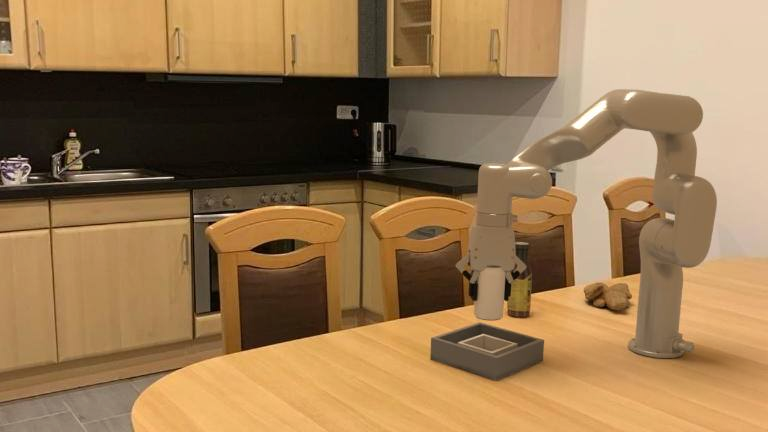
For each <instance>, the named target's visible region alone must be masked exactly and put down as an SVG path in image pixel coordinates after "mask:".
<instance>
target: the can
mask: <svg viewBox="0 0 768 432" xmlns="http://www.w3.org/2000/svg"><path fill="white" fill-rule="evenodd" d="M476 283H477V285H478V286H477V301H474V306H473V307H474V308H473V315H474V316H475V318H476V319H478V320H482V321H491V322H493V321H500V320H502V319H503V317H504V309H505V308H504V305H505V300H504V292H505V272H504V271H502V269H501V267H486V269H485V270H484V271H481V272H480V273H479V275H478V277H477V279H476Z"/></svg>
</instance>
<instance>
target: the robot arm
mask: <svg viewBox="0 0 768 432" xmlns="http://www.w3.org/2000/svg"><path fill="white" fill-rule="evenodd" d="M703 111H704V110H703V108H702V106H701V104H700V102H699V101H698V100H697V99H695V98H693V97H691V96H689V95H681V94H673V93H663V92H658V91H657V92H654V91H649V90H642V89H626V88H625V89H623V88H622V89H613V90H611V91H608V92H606V94H604V95H602V96H601V97H600V98H599V99H598V100H596V101H595V102H593V104H591V105H590V106H589V107H588V108H586V109H585V110H583V112H581V113H579V115H577V116H576V117H575V118H573V119H572V120H571V121H570V122H569V123H567V124H565V125H564V126H562V127H561V128H559V129H556V130H555V131H553V132H552V133H549V134H548V135H546V136H544V137H542V138H540V139H538V140H537V141H535V142H533V143H531V144H530V145H528V146H527V147H525V148H524V149H523V150H522V151H521V152H519V153H518V154H517V155H516V156H514V157H513V158H512V159H511V160H510V161H509V162H508V163H507V164H506V163H499V162H498V163H497V162H493V163H492V162H490V163H483V164H482V165H481V166H480V167H479V169H478V176H477V177H478V178H477V179H478V182H477V183H478V184H477V199H476V200H477V201H476V216H475V217H476V221H475V224H472V225H471V229H470V232H469V239H468V246H467V254H466V255H464V256H463V257H462V258H461V259H460V260H459V261H458V262H456V264H455V268H457V270H458V271H459V272H460V273H461V274H462V275H463V276H464V277H465V279H466V280H467V281H468V296H469V297H470V299H471V301H472V302H475V301H477V286H478V285H477V283H476V279H477V277H478V275H479V273H480V272H481V271H484V270H485V269H486V267H501V269H502V271H504V272H505V292H504V302H507V301H508V299H509V297H510V296H511V284H512V283H513V282H514V280H515V279H516V278H517V277H518V276H519V275H520V273H522V272H523V271H524V270H525V269H526V267H527V266H526V265H525V264H524V263H523V262H522V261H521V260H520V259H519V258H518V257H517V256H516V251H515V242H516V240H515V238H516V237H515V229H514V226H513V225H512V224H513V222H517V221H518V215H517V214H513V212H512V211H513V209H512V208H513V197H515V198H521V199H529V200H536V199H541V198H542V197H543V198H544V197H545V196H547V194H548V193H550V190H551V188H552V185H553V178H552V175H551V173H550V172H549V171H550V170H551V169H554V168H556V167H558V166H560V165H564V164H565V163H570V162H575V161H578V160H582V159H584V158H588V157H590V156H592V155H593V154H594V153H595V152H596V151H597V150H599V149H600V148H602V147H603V146H604V145H605V144H606V143H607V142H608V141H610V140H611V139H612V138H614V137H615V136H616V135H618V134H619V133H620V132H621V131H623V130H624V129H628V130H636V131H643V132H649V133H650V134H651V136H652V137H653V139H654V141H655V144H656V148H657V151H656V152H657V153H656V166H655V170H654V178H653V184H652V190H651V191H652V192H651V199H652V200H651V201H652V203H653V206H654V207H655V208H656V209H658V210H659V211H661V212H664V213H666V214H670V215H673V216H674V219H672V218H667V217H655V218H653V219H651V220H648V222H646V223H645V224H644V225H643V226H642V228H641V229H640V233H639V239H638V246H639V255H640V277H639V278H640V279H639V288H638V299H637V300H638V301H637V311H636V312H637V315H636V326H635V327H636V328H635V336H634V337H633V338H631V339H629V340H628V344H627V346H628V349H629V350H631V351H632V352H634V353H635V354H639V355H643V356H646V357H651V358H659V359H674V358H679V357H681V356H683V355H684V352H686V353H690V354H693V353H694V351H695V345H694V342H692V341H687V340H684V339H683V333H681V332H680V333H679V330H680V321H681V320H680V319H681V318H680V317H681V310H682V309H681V308H682V307H681V306H682V297H683V289H684V288H683V286H684V271H683V268H685V269H690V268H695V267H697V266H699V265H701V264H702V263H703V262H704V261H705V260H706V258H707V256H708V253H709V251H710V248H711V242H712V238H713V232H714V226H715V219H716V212H717V205H718V200H717V193H716V190H715V188H714V186H713V185H712V184H713V183H711V182H710V181H709V180H707V179H706V178H704V177H702V176H696V167H697V166H696V165H697V158H698V157H697V156H698V155H697V154H698V149H697V141H696V138H695V135H694V134H693V133H694V132H695V131H696V130H698V129H699V127H700V126H701V124H702V122H703V119H704V112H703ZM515 263H516V264H517V265H518V266H517V268H516V269H515V270H514V268H515ZM466 265H467V266H468V267H469V268H470V269H471V270H470V271H468V270H467V269H466V268H465V266H466ZM512 270H513V271H512ZM510 271H512V272H511V273H510Z"/></svg>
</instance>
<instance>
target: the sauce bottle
mask: <svg viewBox="0 0 768 432" xmlns="http://www.w3.org/2000/svg"><path fill="white" fill-rule="evenodd" d="M529 249H530V243H529V242H523V241H515V251H516V256H517V257H518V258H519V259H520V260H521V261H522V262H523V263H524V264H525V265H526V266H527V267H526V269H525V270H524V271H523V272H522V273H520V275H519V276H518V277H517V278H516V279H515V280H514V282H513V283H512V284H511V296H510V297H509V299H508V301H506V302H507V304H506V306H507V307H506V309H507V315H508V316H510V317H513V318H526V317H529V316H530V315H531V314H530V313H531V305H532V304H531V302H532V300H531V299H532V279H533V271H532V268H531V265H530V261H529ZM517 266H518V265H517V264H516V263H515V268H514V270H515V269H516V268H517ZM512 271H513V270H512ZM512 271H510V273H511V272H512Z"/></svg>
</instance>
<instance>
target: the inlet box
mask: <svg viewBox="0 0 768 432" xmlns="http://www.w3.org/2000/svg"><path fill="white" fill-rule="evenodd" d="M544 349H545V339H541V338H539V337H535V336H531V335H529V334H524V333H520V332H516V331H513V330H509V329H506V328H501V327H498V326H496V325H495V326H494V325H492V324H487V323H483V322H481V321H480V322H476V323H472V324H469V325H467V326H463V327H460V328H457V329H454V330H452V331H451V330H450V331H449V332H448V331H447V332H446V333H442V334H440V335H435V336H432V337H431V338H430V357H429V358H430V359H429V360H432V361H435V362H437V363H440V364H443V365H447V366H450V367H452V368H455V369H459V370H461V371H464V372H467V373H469V374H472V375H473V374H474V375H476V376H480V377H482V378H486V379H489V380H492V381H495V382H496V381H499V380H502V379H504V378H506V377H509V376H511V375H514V374H516V373H519V372H521V371H523V370H526V369H528V368H530V367H532V366H535V365H538V364H540V363H541V362H544V351H545V350H544Z"/></svg>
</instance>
